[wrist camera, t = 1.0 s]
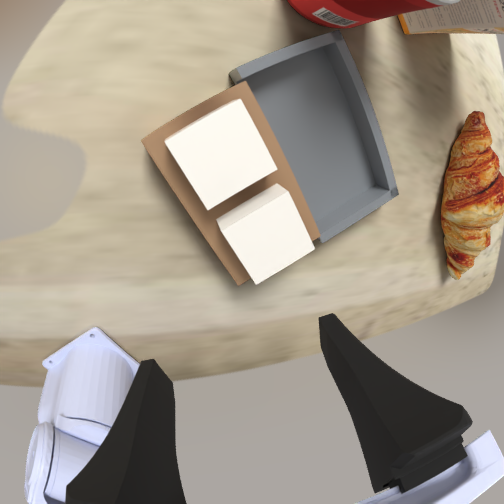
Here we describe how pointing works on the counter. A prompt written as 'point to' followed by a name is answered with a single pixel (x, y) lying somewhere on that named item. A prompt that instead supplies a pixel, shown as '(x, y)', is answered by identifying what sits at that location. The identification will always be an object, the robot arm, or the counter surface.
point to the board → (208, 217)
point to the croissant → (471, 195)
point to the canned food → (359, 10)
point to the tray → (324, 128)
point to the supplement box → (457, 18)
